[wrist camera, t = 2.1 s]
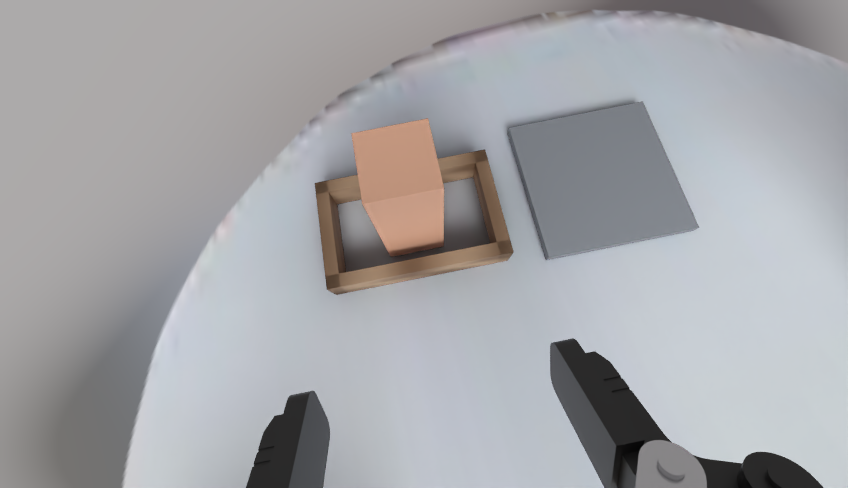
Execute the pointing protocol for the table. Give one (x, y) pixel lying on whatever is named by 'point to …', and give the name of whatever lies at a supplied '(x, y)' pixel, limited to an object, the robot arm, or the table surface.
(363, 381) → the table surface
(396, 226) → the terracotta block
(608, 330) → the table surface
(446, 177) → the walnut cradle
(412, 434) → the table surface
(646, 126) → the slate mat
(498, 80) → the table surface
